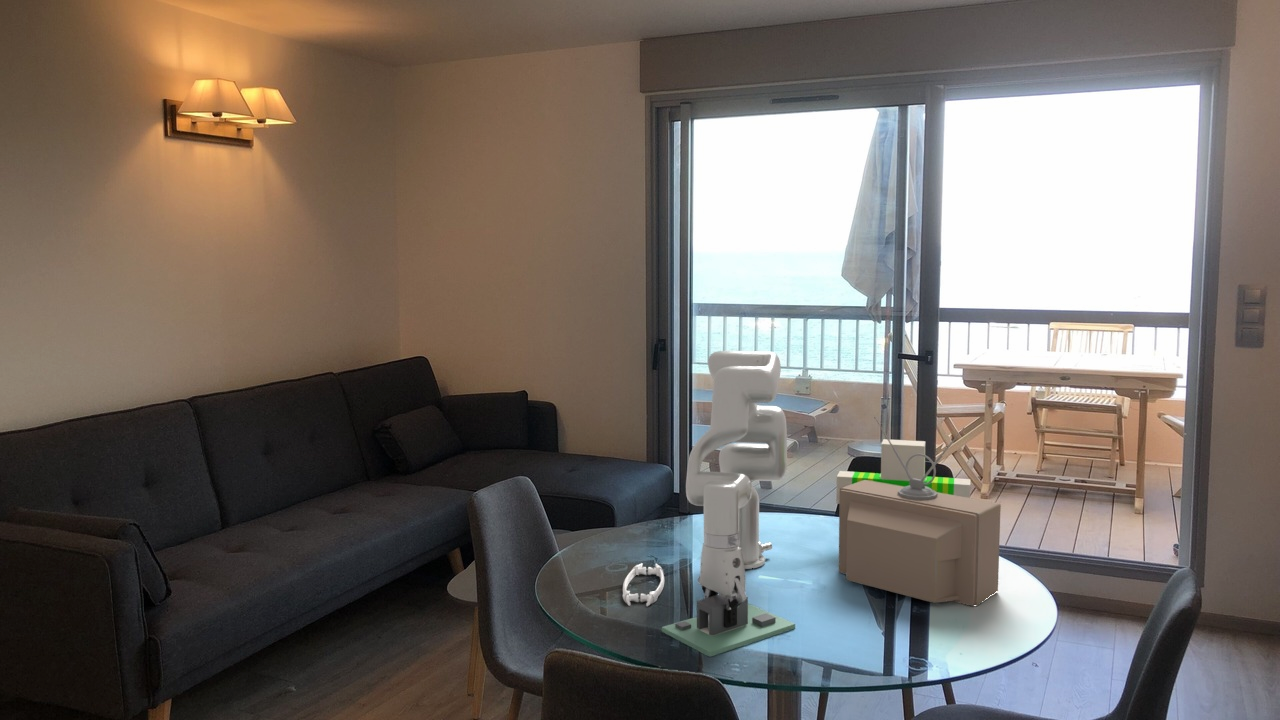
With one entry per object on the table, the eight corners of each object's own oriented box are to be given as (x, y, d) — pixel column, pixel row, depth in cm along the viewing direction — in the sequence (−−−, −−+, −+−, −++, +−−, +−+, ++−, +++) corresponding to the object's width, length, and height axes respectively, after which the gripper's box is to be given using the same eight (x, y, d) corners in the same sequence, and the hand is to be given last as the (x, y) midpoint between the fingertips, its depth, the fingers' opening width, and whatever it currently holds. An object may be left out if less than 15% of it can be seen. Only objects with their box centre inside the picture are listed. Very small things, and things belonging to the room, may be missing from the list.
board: (745, 606, 214) (745, 592, 214) (795, 628, 201) (795, 613, 201) (661, 631, 200) (661, 616, 200) (709, 656, 187) (709, 640, 187)
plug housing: (732, 616, 205) (732, 590, 204) (747, 623, 201) (747, 597, 200) (696, 627, 199) (696, 600, 198) (712, 635, 195) (711, 608, 194)
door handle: (668, 572, 239) (659, 608, 215) (630, 571, 240) (617, 607, 216) (668, 562, 239) (659, 597, 214) (629, 561, 240) (617, 595, 215)
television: (1000, 592, 222) (1005, 426, 217) (962, 616, 207) (967, 439, 203) (865, 559, 247) (867, 409, 242) (822, 579, 232) (824, 420, 227)
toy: (968, 554, 250) (971, 443, 246) (968, 561, 243) (971, 448, 240) (839, 542, 261) (840, 436, 258) (835, 549, 254) (837, 441, 251)
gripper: (762, 545, 193) (762, 630, 195) (709, 526, 206) (709, 606, 208) (734, 552, 188) (734, 639, 190) (682, 533, 202) (683, 614, 204)
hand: (721, 621), depth 199 cm, fingers closed on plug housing, 5 cm apart
